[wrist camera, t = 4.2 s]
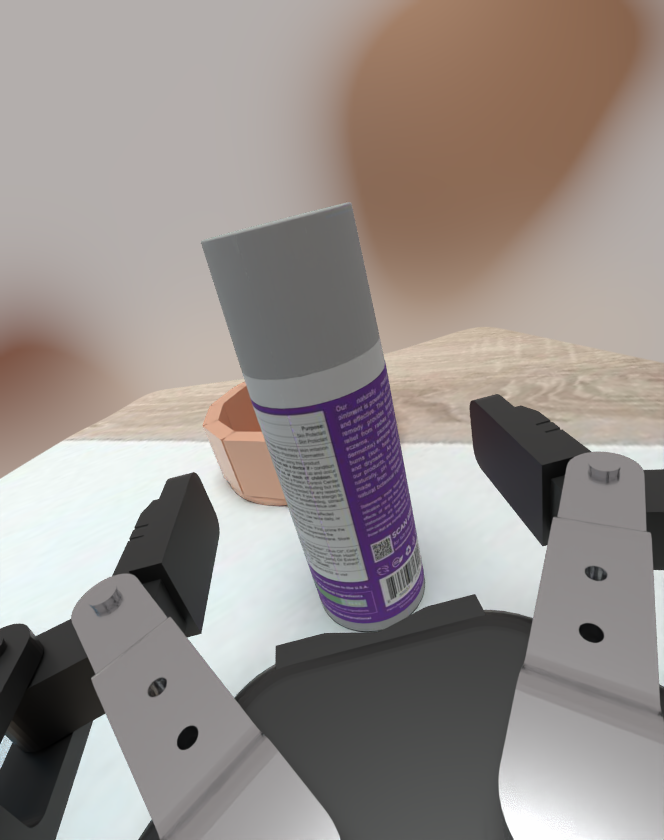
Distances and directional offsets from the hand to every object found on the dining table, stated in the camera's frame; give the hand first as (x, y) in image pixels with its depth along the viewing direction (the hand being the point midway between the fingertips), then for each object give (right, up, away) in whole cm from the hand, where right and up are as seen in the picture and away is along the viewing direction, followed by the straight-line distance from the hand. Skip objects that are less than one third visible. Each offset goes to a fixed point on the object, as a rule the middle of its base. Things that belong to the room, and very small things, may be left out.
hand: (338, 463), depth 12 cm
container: (+2, -6, +7) cm, 9 cm away
